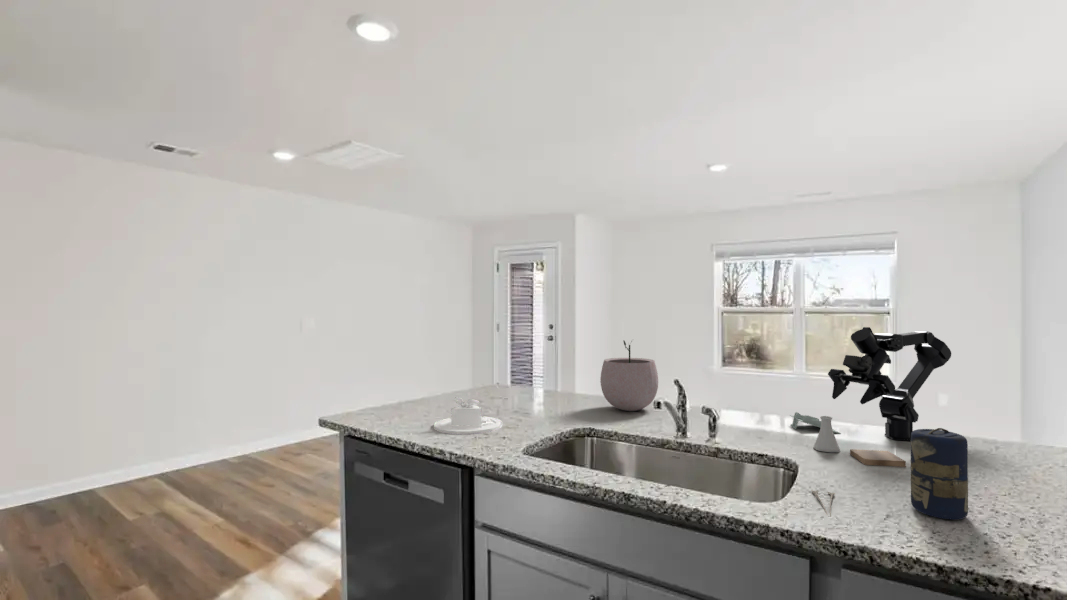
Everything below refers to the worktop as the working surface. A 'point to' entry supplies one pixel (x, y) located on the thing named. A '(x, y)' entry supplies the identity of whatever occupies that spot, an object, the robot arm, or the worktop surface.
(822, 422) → the flask
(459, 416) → the dish
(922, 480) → the canister
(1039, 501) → the worktop surface
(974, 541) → the worktop surface
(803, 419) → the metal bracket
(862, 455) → the walnut board
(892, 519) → the worktop surface
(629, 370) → the plant pot
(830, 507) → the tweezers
